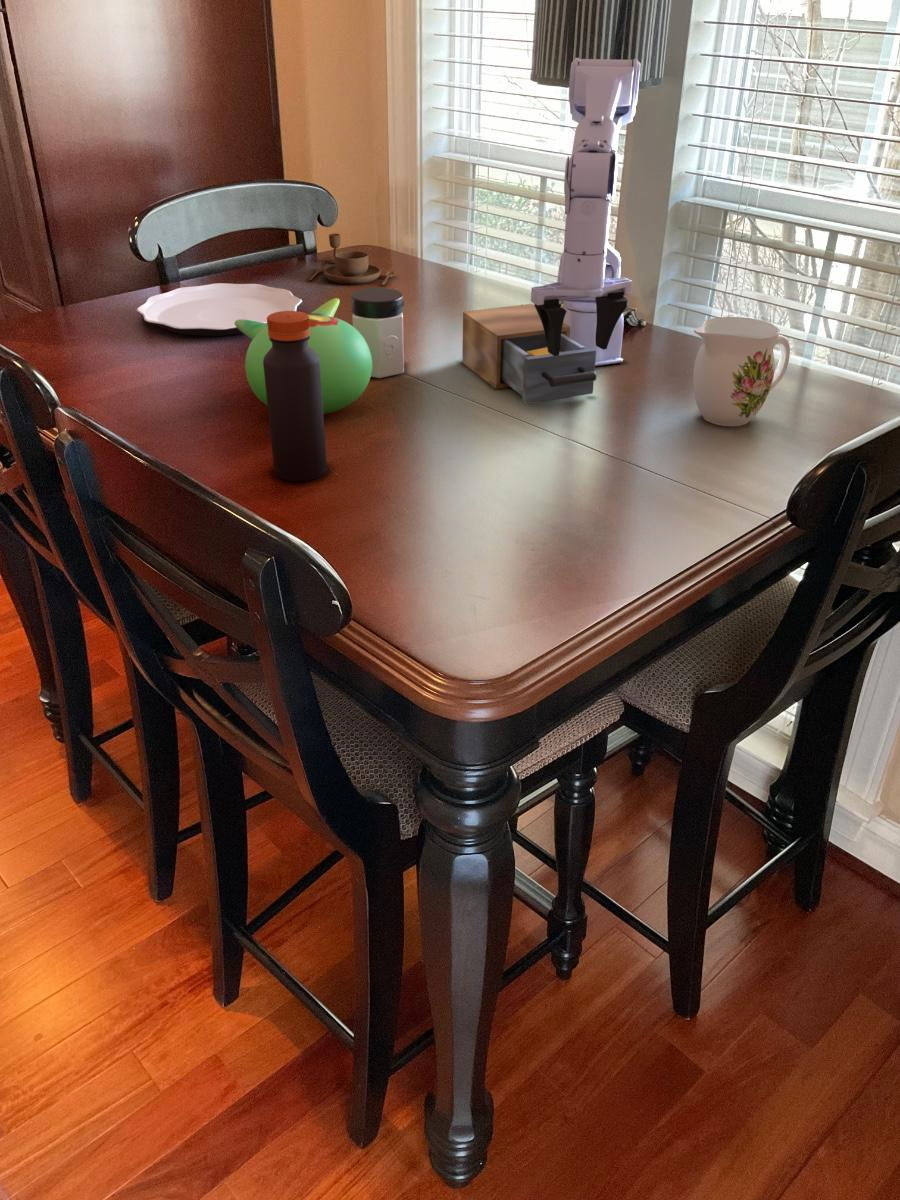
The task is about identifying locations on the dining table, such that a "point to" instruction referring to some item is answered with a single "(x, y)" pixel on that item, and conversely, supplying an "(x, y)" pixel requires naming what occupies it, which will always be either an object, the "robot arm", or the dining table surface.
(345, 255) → the place setting
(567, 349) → the grey wooden drawer
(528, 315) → the wooden drawer box
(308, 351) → the bottle
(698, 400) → the pitcher
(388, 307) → the jar
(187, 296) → the plate
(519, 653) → the dining table surface
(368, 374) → the toy bird
